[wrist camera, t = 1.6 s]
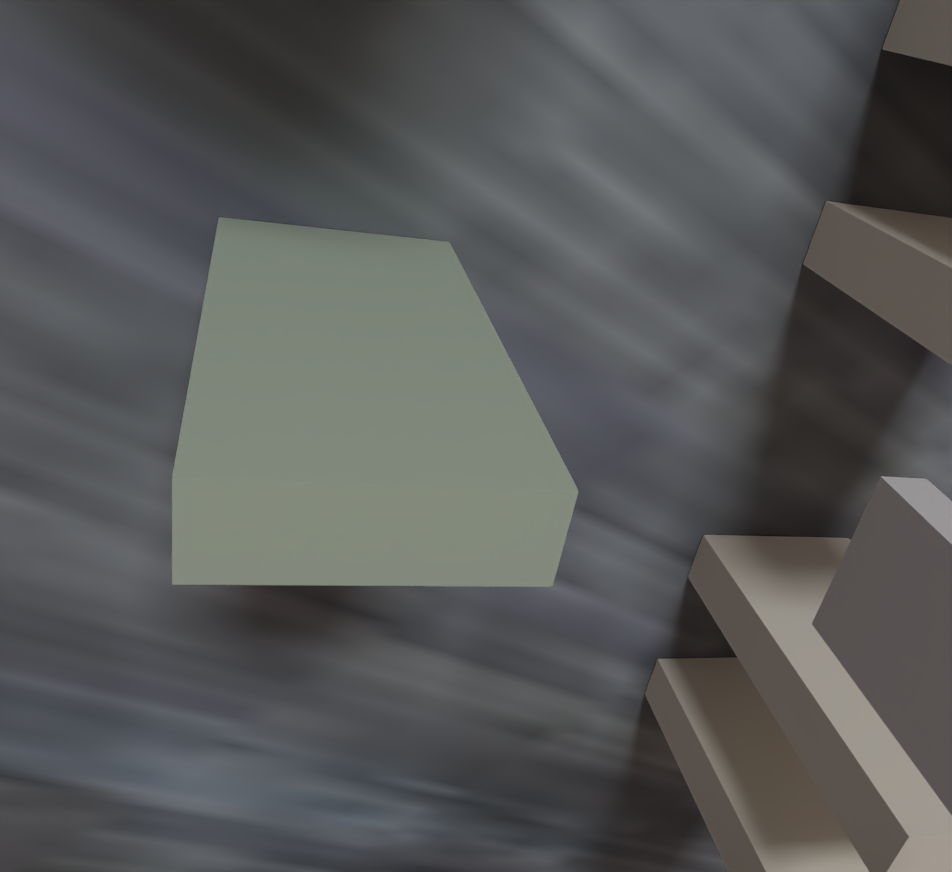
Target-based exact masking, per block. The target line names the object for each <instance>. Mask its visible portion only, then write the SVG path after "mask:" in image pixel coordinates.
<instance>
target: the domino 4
mask: <svg viewBox="0 0 952 872" xmlns="http://www.w3.org/2000/svg"><path fill="white" fill-rule="evenodd" d="M882 50H886V51H891V52H895V53H899V54H903V55H907V56H912V57H916V58H920V59H924V60H928V61H933V62H937V63H941V64H945V65H950V66H952V0H900V1H899V4H898V7H897V10H896V12H895V15H894V18H893V20H892V23H891V26H890V29H889V31H888V34H887V37H886V39H885V42H884V45H883V48H882Z"/></svg>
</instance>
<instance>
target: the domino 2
mask: <svg viewBox="0 0 952 872" xmlns="http://www.w3.org/2000/svg"><path fill="white" fill-rule="evenodd" d="M849 543H850V539H849V538H830V537H785V536H740V535H703V537H702V539H701V542H700V545H699V548H698V550H697V553H696V556H695V558H694V561H693V564H692V567H691V569H690V572H689V575H688V578H689V580H690V581H691V583H692V585H693V586H694V588H695V589H696V591H697V593H698V594H699V596H700V598H701V599H702V601H703V602H704V604H705V606H706V607H707V609H708V611H709V612H710V614H711V615H712V617H713V619H714V620H715V622H716V624H717V625H718V627H719V628H720V630H721V632H722V633H723V635H724V637H725V638H726V640H727V641H728V643H729V645H730V646H731V648H732V650H733V651H734V653H735V654H736V656H737V658H738V659H739V661H740V663H741V664H742V666H743V667H744V669H745V671H746V672H747V674H748V676H749V677H750V679H751V680H752V682H753V684H754V685H755V687H756V689H757V690H758V692H759V693H760V695H761V697H762V698H763V700H764V702H765V703H766V705H767V706H768V708H769V710H770V711H771V713H772V715H773V716H774V718H775V719H776V721H777V723H778V724H779V726H780V728H781V729H782V731H783V732H784V734H785V736H786V737H787V739H788V741H789V742H790V744H791V745H792V747H793V749H794V750H795V752H796V754H797V755H798V757H799V758H800V760H801V762H802V763H803V765H804V767H805V768H806V770H807V771H808V773H809V775H810V776H811V778H812V780H813V781H814V783H815V784H816V786H817V788H818V789H819V791H820V793H821V794H822V796H823V797H824V799H825V801H826V802H827V804H828V806H829V807H830V809H831V810H832V812H833V814H834V815H835V817H836V819H837V820H838V822H839V823H840V825H841V827H842V828H843V830H844V832H845V833H846V835H847V836H848V838H849V840H850V841H851V843H852V845H853V846H854V848H855V849H856V851H857V853H858V854H859V856H860V858H861V859H862V861H863V862H864V864H865V866H866V867H867V869H868V871H869V872H952V815H951V814H950V813H949V811H948V810H947V809H946V807H945V806H944V804H943V803H942V802H941V800H940V799H939V798H938V796H937V795H936V793H935V792H934V791H933V789H932V788H931V787H930V785H929V784H928V782H927V781H926V780H925V778H924V777H923V776H922V774H921V773H920V771H919V770H918V769H917V767H916V766H915V765H914V763H913V762H912V761H911V759H910V758H909V756H908V755H907V754H906V752H905V751H904V750H903V748H902V747H901V745H900V744H899V743H898V741H897V740H896V739H895V737H894V736H893V734H892V733H891V732H890V730H889V729H888V728H887V726H886V725H885V724H884V722H883V721H882V719H881V718H880V717H879V715H878V714H877V713H876V711H875V710H874V708H873V707H872V706H871V704H870V703H869V702H868V700H867V699H866V697H865V696H864V695H863V693H862V692H861V691H860V689H859V688H858V686H857V685H856V684H855V682H854V681H853V680H852V678H851V677H850V676H849V674H848V673H847V671H846V670H845V669H844V667H843V666H842V665H841V663H840V662H839V660H838V659H837V658H836V656H835V655H834V654H833V652H832V651H831V649H830V648H829V647H828V645H827V644H826V643H825V641H824V640H823V638H822V637H821V636H820V634H819V633H818V632H817V630H816V629H815V628H814V626H813V625H812V622H813V620H814V618H815V616H816V613H817V611H818V609H819V607H820V605H821V603H822V601H823V599H824V596H825V594H826V592H827V590H828V588H829V586H830V584H831V581H832V579H833V577H834V575H835V573H836V571H837V569H838V566H839V564H840V562H841V560H842V558H843V556H844V554H845V552H846V549H847V547H848V545H849Z"/></svg>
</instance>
